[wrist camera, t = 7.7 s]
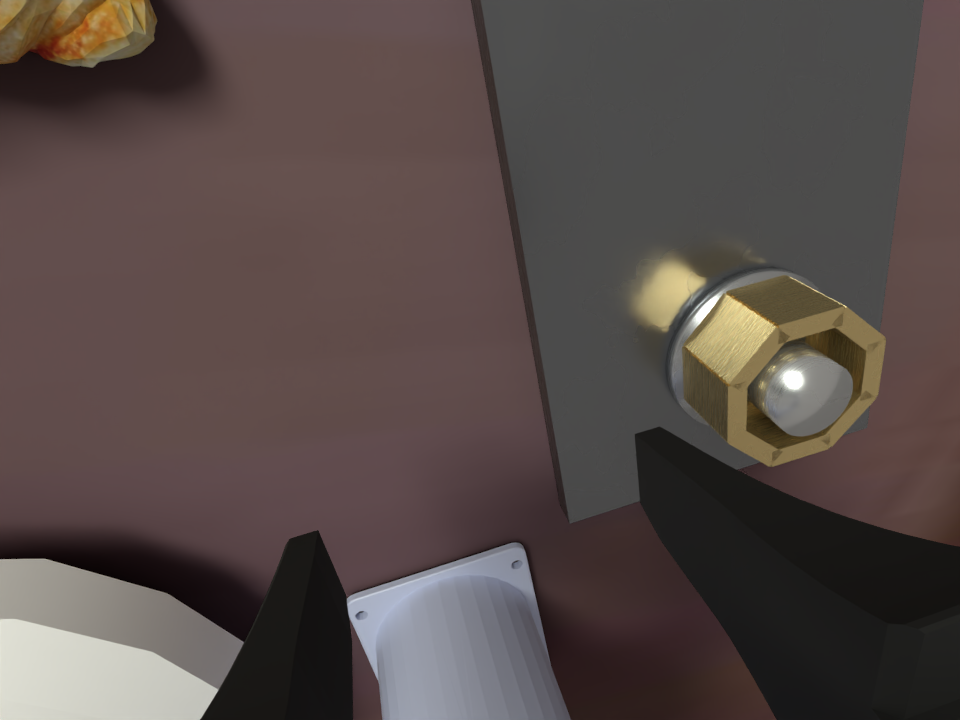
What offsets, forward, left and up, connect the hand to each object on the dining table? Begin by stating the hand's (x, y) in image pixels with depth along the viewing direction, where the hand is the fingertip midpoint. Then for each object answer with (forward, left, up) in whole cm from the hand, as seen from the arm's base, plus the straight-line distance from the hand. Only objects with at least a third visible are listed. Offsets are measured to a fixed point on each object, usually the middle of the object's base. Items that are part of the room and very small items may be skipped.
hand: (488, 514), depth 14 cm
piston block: (0, -11, -10) cm, 15 cm away
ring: (-4, -12, -8) cm, 15 cm away
